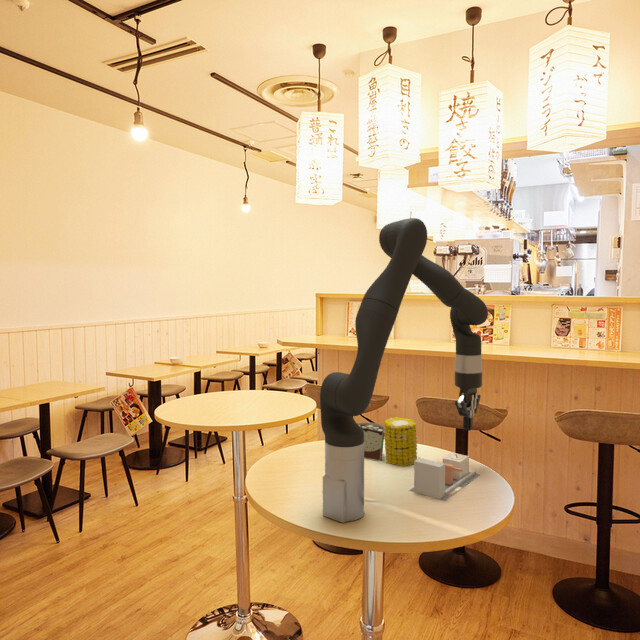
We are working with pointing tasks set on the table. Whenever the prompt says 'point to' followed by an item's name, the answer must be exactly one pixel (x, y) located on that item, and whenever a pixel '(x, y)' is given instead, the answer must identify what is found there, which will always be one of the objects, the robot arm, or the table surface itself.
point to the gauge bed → (437, 480)
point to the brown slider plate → (450, 473)
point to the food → (400, 441)
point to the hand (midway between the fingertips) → (468, 429)
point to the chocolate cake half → (373, 440)
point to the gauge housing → (458, 464)
